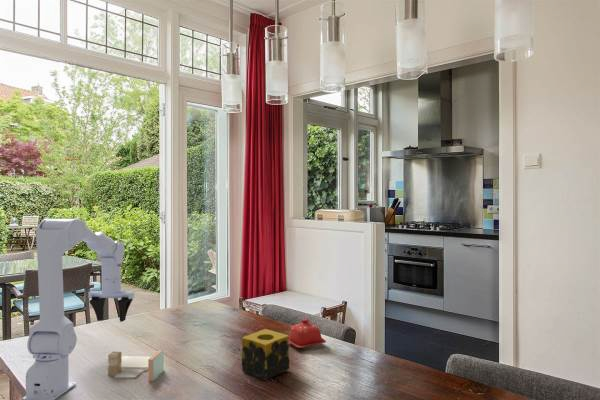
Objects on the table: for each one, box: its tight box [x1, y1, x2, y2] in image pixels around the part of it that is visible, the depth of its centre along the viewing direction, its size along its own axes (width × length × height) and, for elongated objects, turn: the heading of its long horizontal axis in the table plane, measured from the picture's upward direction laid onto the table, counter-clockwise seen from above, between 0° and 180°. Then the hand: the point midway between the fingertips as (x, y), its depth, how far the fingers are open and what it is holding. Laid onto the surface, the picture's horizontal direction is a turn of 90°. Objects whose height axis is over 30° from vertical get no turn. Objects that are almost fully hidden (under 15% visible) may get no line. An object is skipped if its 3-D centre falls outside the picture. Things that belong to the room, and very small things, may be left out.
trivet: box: [106, 355, 152, 372], centre depth 123 cm, size 8×12×1 cm, turn 85°
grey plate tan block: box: [107, 351, 145, 380], centre depth 116 cm, size 5×8×6 cm, turn 85°
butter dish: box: [288, 318, 327, 349], centre depth 142 cm, size 12×12×8 cm
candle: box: [241, 328, 290, 381], centre depth 119 cm, size 10×10×10 cm
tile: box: [147, 349, 165, 382], centre depth 115 cm, size 7×1×6 cm, turn 175°
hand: (111, 320), depth 133 cm, fingers open, 7 cm apart
